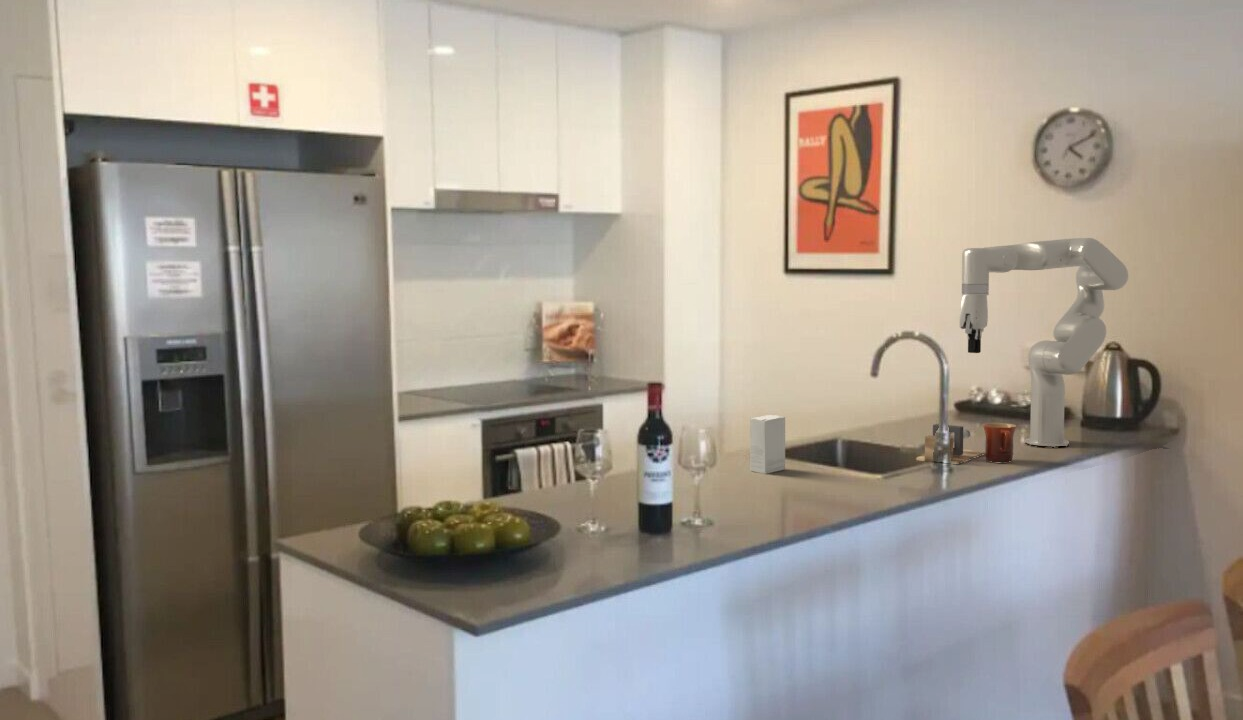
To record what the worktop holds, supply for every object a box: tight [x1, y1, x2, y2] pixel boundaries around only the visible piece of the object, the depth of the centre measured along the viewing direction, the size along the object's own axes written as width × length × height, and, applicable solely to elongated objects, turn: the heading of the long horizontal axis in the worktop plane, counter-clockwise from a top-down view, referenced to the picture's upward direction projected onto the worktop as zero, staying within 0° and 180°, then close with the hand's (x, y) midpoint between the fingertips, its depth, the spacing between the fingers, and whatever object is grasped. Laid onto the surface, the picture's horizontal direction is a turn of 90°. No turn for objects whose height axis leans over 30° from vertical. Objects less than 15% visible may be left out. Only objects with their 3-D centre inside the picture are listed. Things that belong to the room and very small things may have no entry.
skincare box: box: [749, 414, 786, 475], centre depth 285 cm, size 8×6×15 cm
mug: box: [982, 422, 1017, 463], centre depth 293 cm, size 12×9×10 cm
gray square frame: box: [932, 423, 964, 456], centre depth 299 cm, size 2×8×8 cm, turn 49°
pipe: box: [949, 429, 971, 443], centre depth 302 cm, size 18×3×3 cm, turn 139°
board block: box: [915, 434, 985, 464], centre depth 302 cm, size 20×12×7 cm, turn 139°
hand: (974, 352), depth 311 cm, fingers closed
